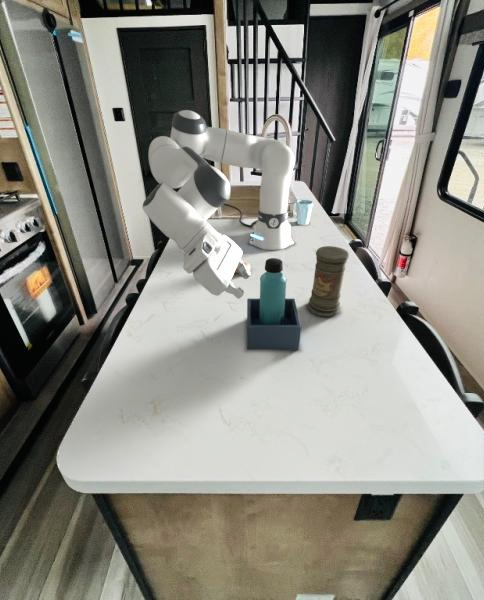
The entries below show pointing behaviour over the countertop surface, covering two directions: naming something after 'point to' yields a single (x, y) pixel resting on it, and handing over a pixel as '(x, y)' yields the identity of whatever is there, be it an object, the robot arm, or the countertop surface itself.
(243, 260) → the beige lumpy piece
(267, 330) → the tote
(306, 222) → the cup
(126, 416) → the countertop surface
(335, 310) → the container
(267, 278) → the beverage bottle
